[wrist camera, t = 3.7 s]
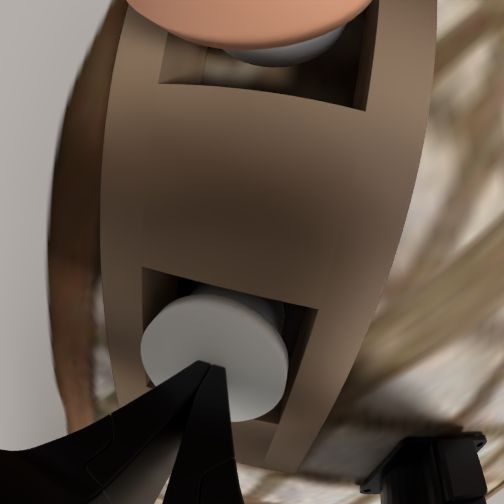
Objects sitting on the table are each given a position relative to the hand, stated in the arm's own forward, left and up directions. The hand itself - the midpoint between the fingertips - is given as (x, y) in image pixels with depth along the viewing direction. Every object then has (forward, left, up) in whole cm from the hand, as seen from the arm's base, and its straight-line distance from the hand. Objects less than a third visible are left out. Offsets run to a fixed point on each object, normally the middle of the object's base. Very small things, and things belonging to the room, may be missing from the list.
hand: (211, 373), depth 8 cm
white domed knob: (0, 0, -3) cm, 3 cm away
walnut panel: (+5, 0, -4) cm, 6 cm away
